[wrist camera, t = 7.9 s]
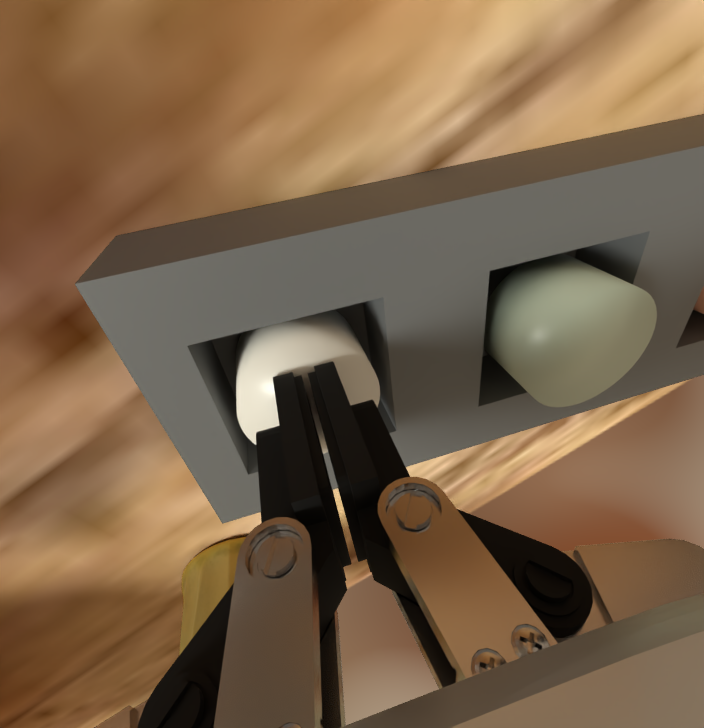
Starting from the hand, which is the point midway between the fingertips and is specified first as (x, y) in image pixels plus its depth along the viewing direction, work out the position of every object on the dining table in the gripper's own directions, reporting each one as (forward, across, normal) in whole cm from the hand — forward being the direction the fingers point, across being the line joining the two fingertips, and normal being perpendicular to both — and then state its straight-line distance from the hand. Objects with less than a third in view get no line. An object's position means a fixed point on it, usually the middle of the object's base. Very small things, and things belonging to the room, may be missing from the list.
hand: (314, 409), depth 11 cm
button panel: (+4, -8, 0) cm, 9 cm away
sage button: (+2, -8, 0) cm, 8 cm away
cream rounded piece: (+3, 0, 0) cm, 3 cm away
